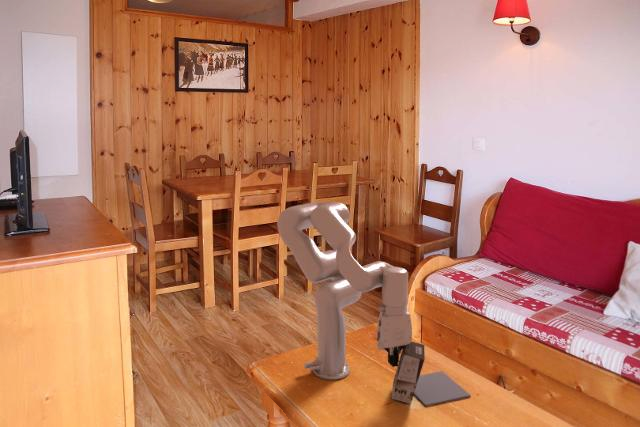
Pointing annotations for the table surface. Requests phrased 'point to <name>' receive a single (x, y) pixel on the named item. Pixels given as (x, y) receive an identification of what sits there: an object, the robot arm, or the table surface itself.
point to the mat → (438, 389)
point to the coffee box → (408, 372)
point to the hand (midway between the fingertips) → (393, 364)
